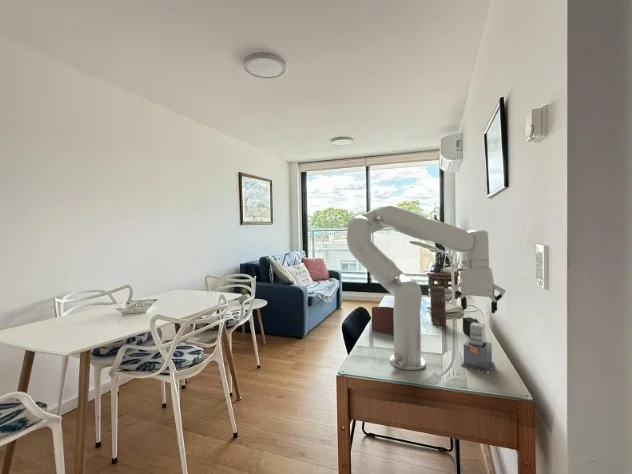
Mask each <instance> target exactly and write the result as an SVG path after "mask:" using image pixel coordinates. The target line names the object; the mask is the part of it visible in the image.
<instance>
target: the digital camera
mask: <svg viewBox="0 0 632 474" xmlns="http://www.w3.org/2000/svg"><path fill="white" fill-rule="evenodd" d="M473 322H474V323H480V324H482V323H481V322H479V321H478V319H477V318H473V317H462V332H463V333H464V334H466V335H467V336H468V337H470V325H471V324H472V323H473Z"/></svg>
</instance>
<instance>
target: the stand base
mask: <svg viewBox="0 0 632 474" xmlns="http://www.w3.org/2000/svg"><path fill="white" fill-rule="evenodd" d="M492 344H493V343H492V342H487V341H485V347H484V348H482V347H478V346H473V345H470V338H468V339H467V341H466V342H465V343H464V344H463V361H462V363H461V365H460V366H461V367H462V368H463V367H464V368H467V369H470V368H472V369H471V370H474V369H476V370H475V371H477V370H480V371H479V372H481V371H484V372H483V373H485V372H489V371H490V370H492V369H493V368H494V366H495V361H493V358H492V356H493V355H492V354H493V353H492V350H493V349H492ZM492 367H493V368H492ZM491 368H492V369H491ZM490 372H491V371H490ZM490 372H489V373H490Z"/></svg>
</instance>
